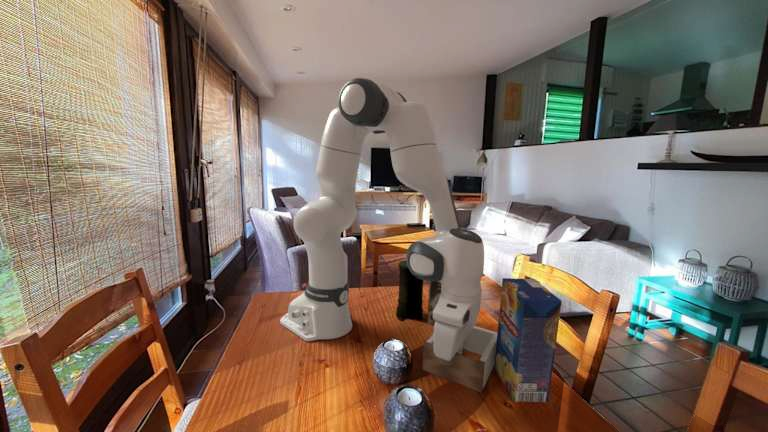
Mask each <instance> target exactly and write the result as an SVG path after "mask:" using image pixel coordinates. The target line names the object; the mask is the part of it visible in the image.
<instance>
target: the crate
mask: <svg viewBox="0 0 768 432" xmlns="http://www.w3.org/2000/svg"><path fill="white" fill-rule="evenodd" d="M425 342H427V343H430V344H433V345H434V332H433V333H432V334H431V335H430V337H428V339H427V340H426V341H425ZM496 342H497V331H493V330H489V329H486V328H483V327H480V326H476V325H475V326H474V328H473V329H472V330H471V332H470V333H469V335H468V336H467V338H466V339H465V342H464V345H463V348H462V350H466V351H468V352H471V353H474V354H478V355H480V356H481V357H480V359H479V361H482V362H485V367H484V378H483V389H485V385H486V383H487V382H488V379H489V377H490V375H491V373H492V371H493V369H494V368H495V367H494V362H495V352H496Z"/></svg>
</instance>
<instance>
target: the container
mask: <svg viewBox="0 0 768 432" xmlns="http://www.w3.org/2000/svg"><path fill="white" fill-rule="evenodd" d="M398 267H399V268H398V270H399V274H398V278H399V281H398V282H399V283H398V299H397V307H396V313H395V316H396V318H397V320H398V321H401V322H404V321H406V320H416V321H419V322H420V321H423V318H424V308H423V304H424V301H423V294H424V290H423V289H424V280H421V279H418V278H417V277H415V276H414V275H413V274H412V273H411V272H410V270H409V268H408V265H407V261H406V259H404V260H400V261H399V262H398Z"/></svg>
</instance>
